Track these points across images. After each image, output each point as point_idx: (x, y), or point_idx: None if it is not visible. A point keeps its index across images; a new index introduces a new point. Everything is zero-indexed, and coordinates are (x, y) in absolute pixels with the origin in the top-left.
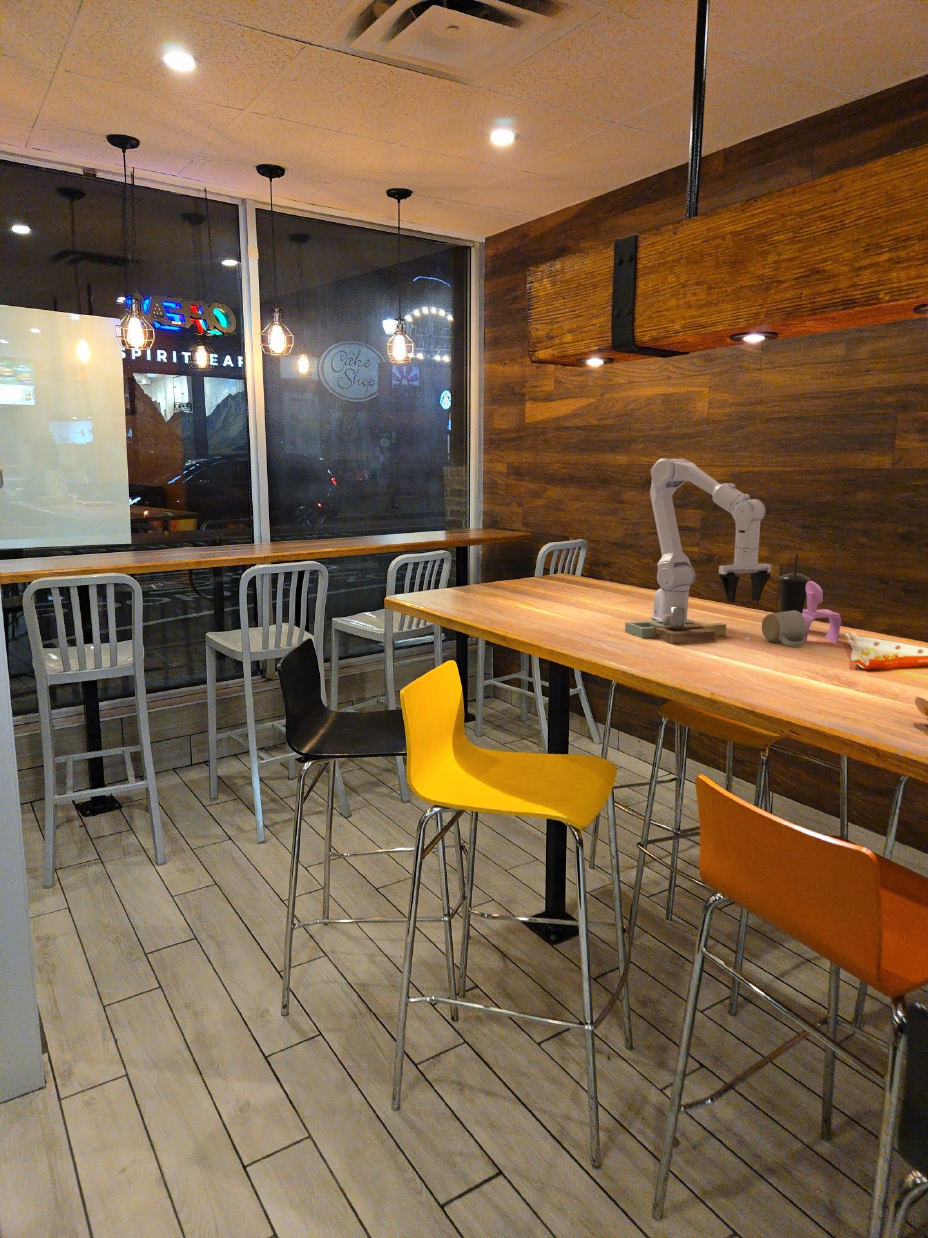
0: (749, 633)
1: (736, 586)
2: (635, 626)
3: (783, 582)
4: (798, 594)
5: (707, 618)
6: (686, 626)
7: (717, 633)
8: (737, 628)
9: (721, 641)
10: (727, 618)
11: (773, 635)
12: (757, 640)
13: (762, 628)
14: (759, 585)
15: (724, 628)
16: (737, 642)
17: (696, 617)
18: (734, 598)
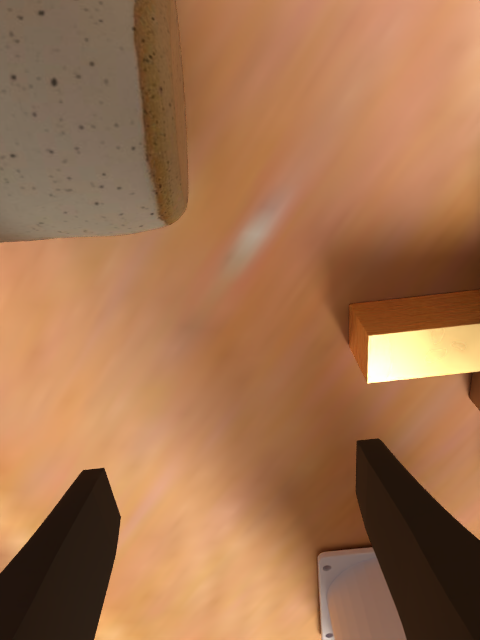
0: (168, 347)
1: (437, 564)
2: None
3: None
4: None
5: (195, 613)
6: None
7: (413, 305)
8: (168, 451)
9: (468, 184)
10: (107, 607)
11: (177, 29)
12: (226, 169)
13: (186, 191)
14: (43, 613)
15: (373, 323)
16: (391, 137)
17: (231, 629)
18: (379, 460)
